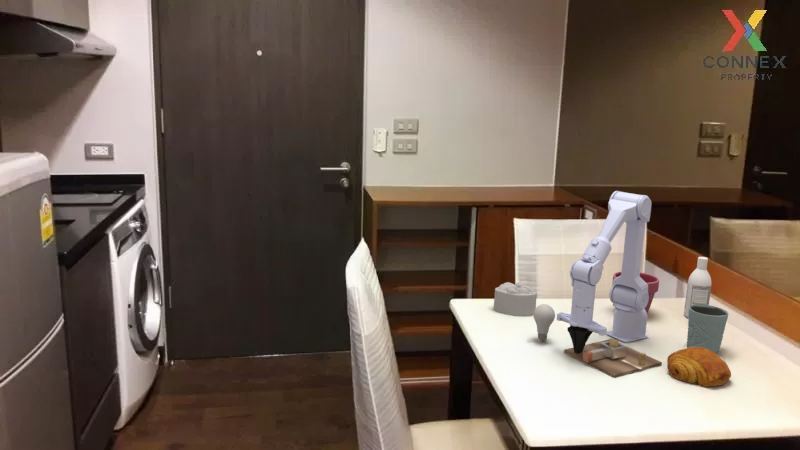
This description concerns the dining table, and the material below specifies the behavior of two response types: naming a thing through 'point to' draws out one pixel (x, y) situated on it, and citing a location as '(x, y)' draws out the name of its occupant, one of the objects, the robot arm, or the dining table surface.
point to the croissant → (698, 367)
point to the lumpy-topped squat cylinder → (515, 299)
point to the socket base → (617, 360)
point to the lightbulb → (543, 320)
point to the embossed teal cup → (706, 327)
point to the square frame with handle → (605, 352)
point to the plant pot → (652, 286)
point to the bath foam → (698, 286)
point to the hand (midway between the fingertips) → (578, 352)
